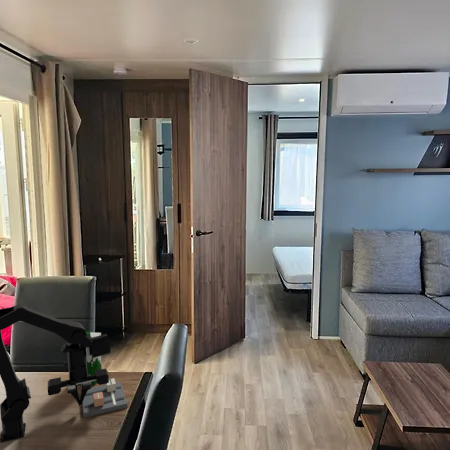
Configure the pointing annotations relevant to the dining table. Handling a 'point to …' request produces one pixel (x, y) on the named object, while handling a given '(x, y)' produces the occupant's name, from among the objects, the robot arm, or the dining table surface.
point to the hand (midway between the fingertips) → (80, 405)
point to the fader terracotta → (98, 399)
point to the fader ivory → (111, 385)
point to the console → (111, 400)
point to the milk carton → (93, 360)
